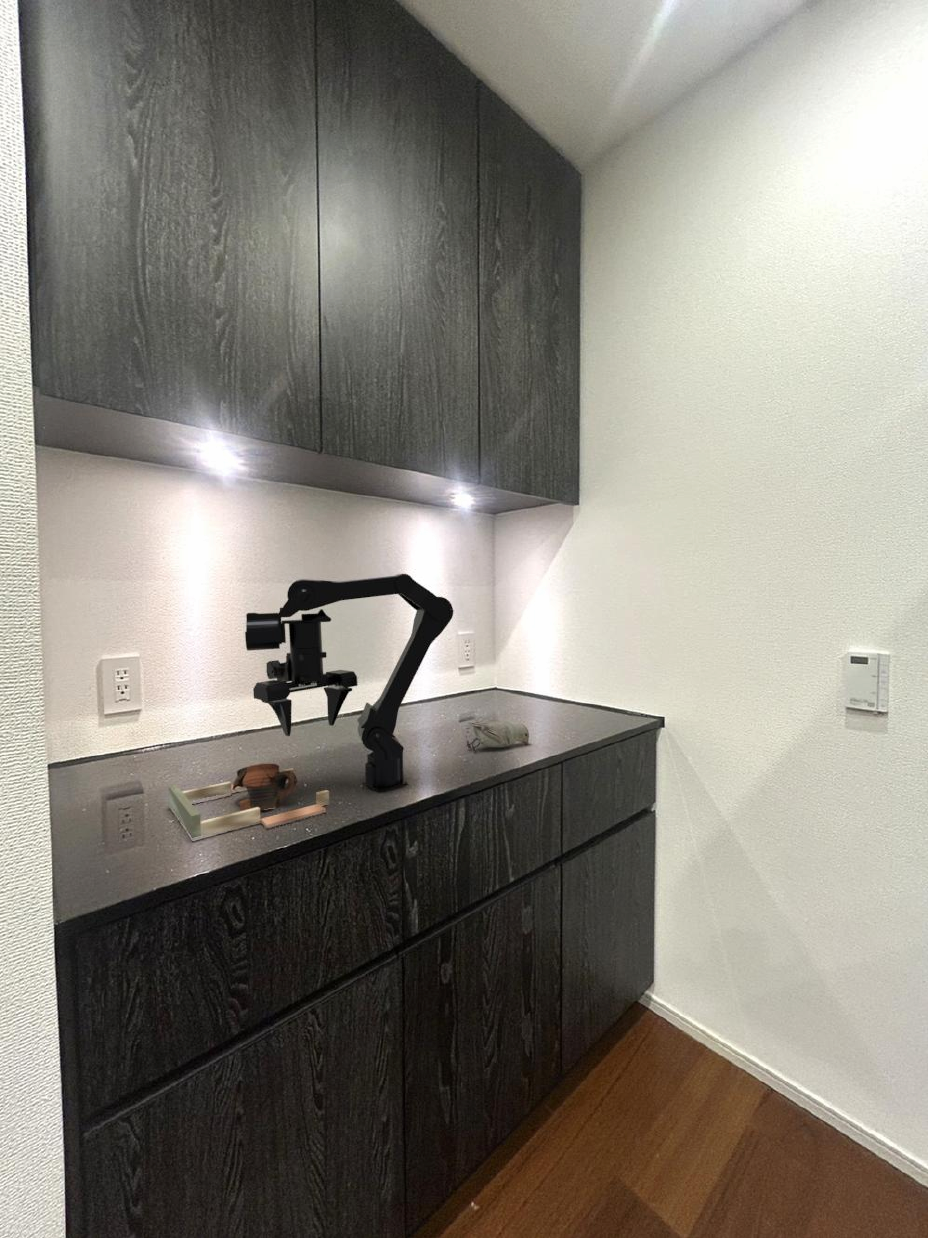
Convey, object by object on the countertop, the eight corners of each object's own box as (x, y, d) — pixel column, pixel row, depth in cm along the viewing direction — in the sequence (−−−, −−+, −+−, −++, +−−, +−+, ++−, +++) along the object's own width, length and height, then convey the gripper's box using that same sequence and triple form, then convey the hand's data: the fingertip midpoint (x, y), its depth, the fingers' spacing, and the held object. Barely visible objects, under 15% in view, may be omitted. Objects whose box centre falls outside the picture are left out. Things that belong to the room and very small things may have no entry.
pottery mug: (222, 819, 92) (221, 770, 96) (251, 822, 101) (249, 777, 104) (289, 801, 92) (285, 753, 95) (312, 806, 100) (308, 762, 104)
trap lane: (286, 776, 112) (286, 757, 112) (336, 810, 94) (336, 787, 94) (165, 803, 98) (165, 781, 98) (197, 849, 80) (196, 822, 80)
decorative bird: (533, 747, 132) (533, 717, 131) (473, 756, 125) (472, 724, 125) (522, 742, 137) (522, 713, 136) (463, 750, 130) (463, 719, 130)
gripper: (325, 640, 113) (328, 715, 114) (237, 650, 99) (241, 734, 100) (357, 643, 106) (360, 722, 106) (266, 653, 92) (271, 744, 93)
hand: (310, 730), depth 102 cm, fingers open, 9 cm apart
